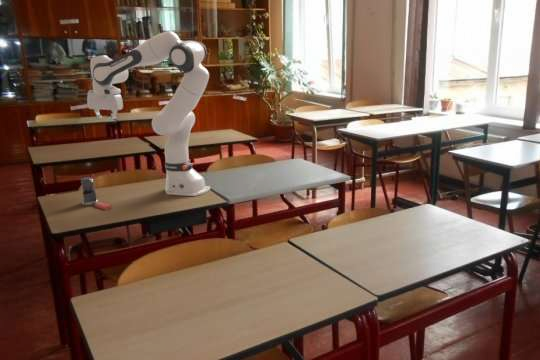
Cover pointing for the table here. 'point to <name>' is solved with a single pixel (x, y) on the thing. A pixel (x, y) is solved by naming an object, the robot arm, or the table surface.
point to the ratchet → (97, 204)
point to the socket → (88, 189)
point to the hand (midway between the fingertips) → (106, 118)
